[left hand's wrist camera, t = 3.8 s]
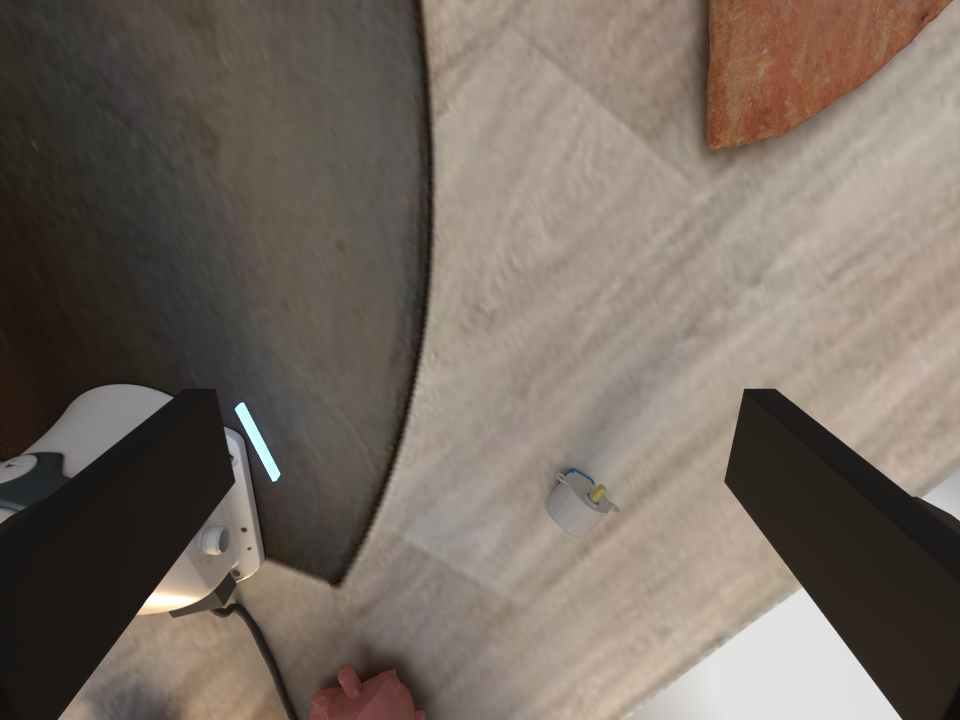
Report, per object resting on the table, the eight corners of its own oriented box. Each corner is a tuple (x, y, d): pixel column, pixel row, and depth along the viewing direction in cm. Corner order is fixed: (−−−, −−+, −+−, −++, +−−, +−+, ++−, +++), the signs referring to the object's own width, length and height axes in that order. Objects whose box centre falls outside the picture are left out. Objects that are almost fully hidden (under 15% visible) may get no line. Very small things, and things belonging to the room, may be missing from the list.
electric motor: (623, 479, 46) (639, 515, 42) (590, 514, 48) (602, 553, 43) (563, 442, 45) (572, 475, 40) (531, 480, 47) (537, 516, 42)
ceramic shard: (974, 119, 30) (709, 154, 33) (910, 110, 36) (687, 140, 39) (1080, -231, 23) (730, -150, 26) (980, -176, 29) (699, -114, 32)
